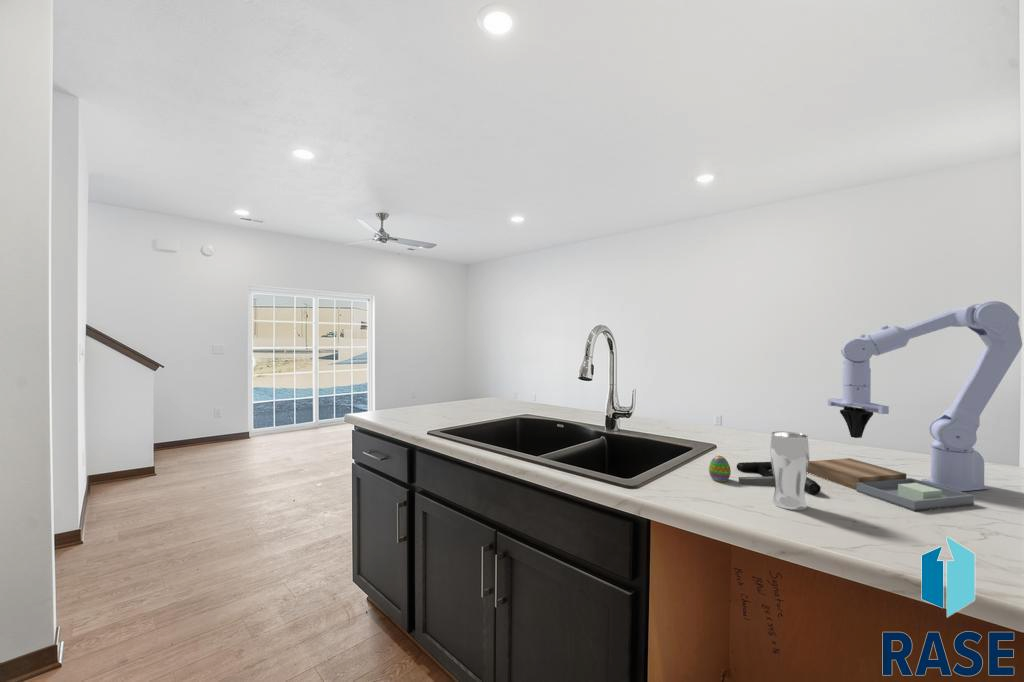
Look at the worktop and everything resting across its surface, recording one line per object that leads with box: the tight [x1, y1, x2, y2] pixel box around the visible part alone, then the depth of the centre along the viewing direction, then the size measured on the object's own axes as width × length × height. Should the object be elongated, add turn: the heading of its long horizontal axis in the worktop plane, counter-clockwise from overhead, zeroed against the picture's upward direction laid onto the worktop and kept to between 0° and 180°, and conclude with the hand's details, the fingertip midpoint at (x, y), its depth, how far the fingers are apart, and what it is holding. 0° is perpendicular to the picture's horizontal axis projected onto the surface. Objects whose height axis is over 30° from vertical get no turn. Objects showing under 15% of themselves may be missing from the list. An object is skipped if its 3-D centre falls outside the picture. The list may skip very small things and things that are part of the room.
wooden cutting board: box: [807, 457, 907, 491], centre depth 110 cm, size 14×14×3 cm
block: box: [898, 483, 942, 500], centre depth 95 cm, size 5×5×2 cm
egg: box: [708, 455, 732, 483], centre depth 109 cm, size 5×5×6 cm
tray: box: [856, 477, 975, 512], centre depth 97 cm, size 16×12×2 cm
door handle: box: [736, 461, 822, 495], centre depth 109 cm, size 3×20×16 cm
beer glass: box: [769, 430, 810, 512], centre depth 92 cm, size 7×7×15 cm
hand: (856, 437), depth 114 cm, fingers closed
